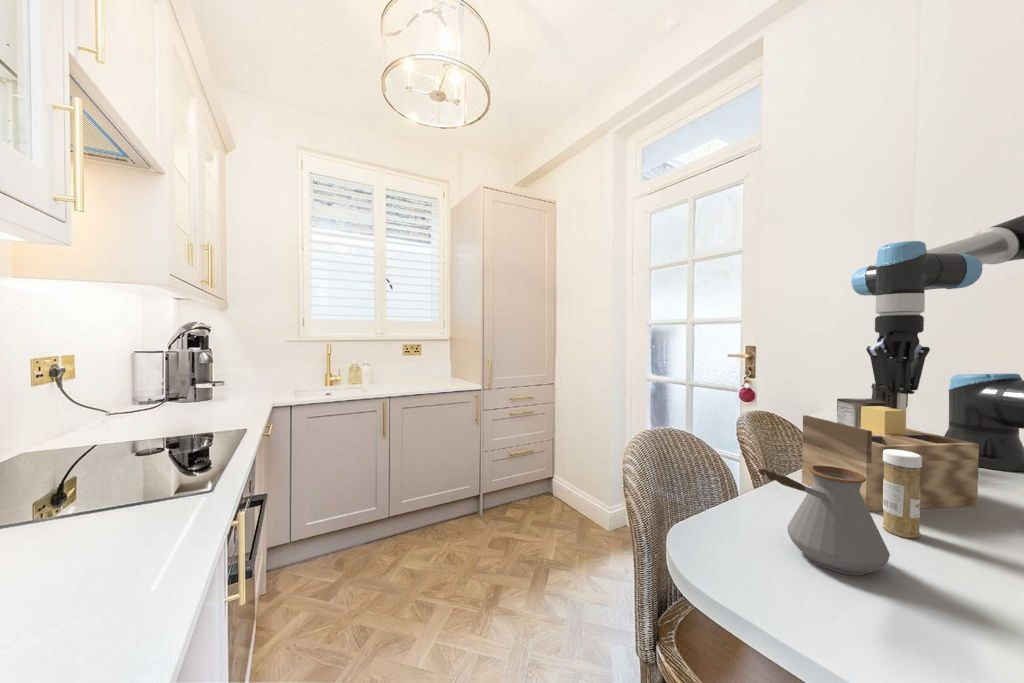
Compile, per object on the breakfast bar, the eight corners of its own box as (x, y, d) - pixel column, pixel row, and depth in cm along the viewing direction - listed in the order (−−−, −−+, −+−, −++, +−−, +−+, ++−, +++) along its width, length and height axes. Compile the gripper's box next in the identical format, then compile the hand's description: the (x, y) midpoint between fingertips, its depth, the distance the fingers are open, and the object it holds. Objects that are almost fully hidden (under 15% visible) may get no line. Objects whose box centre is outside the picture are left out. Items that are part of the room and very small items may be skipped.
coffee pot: (820, 533, 64) (821, 443, 64) (909, 574, 53) (912, 466, 53) (719, 556, 57) (721, 456, 57) (798, 609, 46) (801, 485, 46)
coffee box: (871, 458, 103) (872, 398, 103) (892, 466, 97) (894, 402, 96) (834, 457, 104) (835, 397, 104) (853, 465, 97) (854, 401, 97)
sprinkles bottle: (927, 541, 61) (929, 457, 61) (892, 536, 63) (893, 455, 63) (908, 527, 66) (909, 449, 66) (875, 523, 67) (876, 447, 67)
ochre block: (880, 428, 87) (881, 406, 86) (905, 433, 82) (906, 410, 81) (860, 428, 86) (861, 406, 86) (884, 434, 81) (885, 410, 81)
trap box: (897, 478, 88) (899, 413, 88) (977, 505, 74) (979, 428, 74) (801, 482, 86) (803, 415, 86) (865, 511, 72) (867, 431, 72)
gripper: (906, 315, 88) (903, 418, 88) (854, 315, 87) (852, 419, 87) (946, 314, 81) (942, 426, 81) (890, 313, 79) (887, 427, 80)
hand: (895, 422), depth 84 cm, fingers closed
